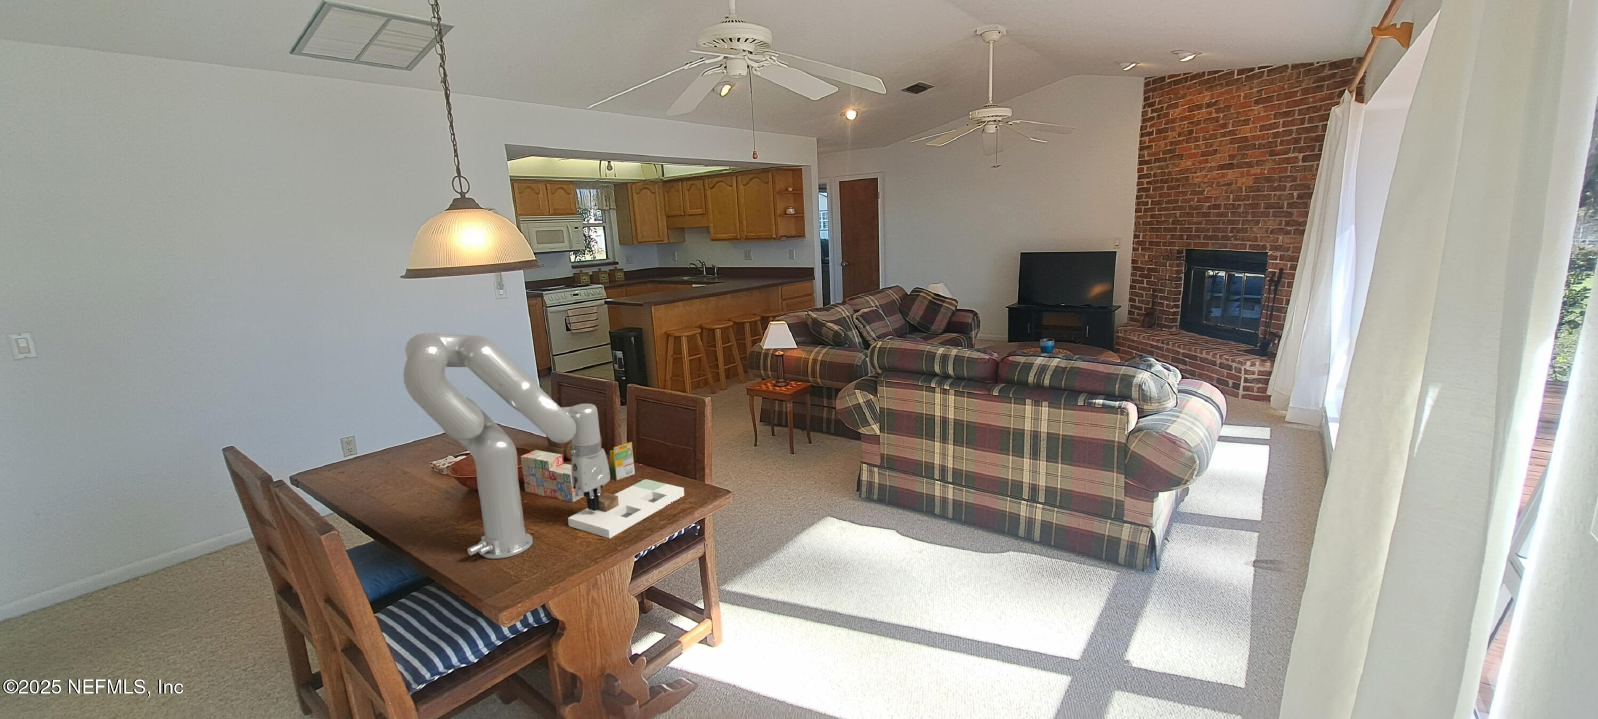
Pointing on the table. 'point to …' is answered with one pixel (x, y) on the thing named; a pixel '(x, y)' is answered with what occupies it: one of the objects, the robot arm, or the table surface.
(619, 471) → the crayon box
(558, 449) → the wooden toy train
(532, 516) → the table surface
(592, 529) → the trap board
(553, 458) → the stack of blocks
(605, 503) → the walnut block
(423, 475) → the table surface
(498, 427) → the robot arm
